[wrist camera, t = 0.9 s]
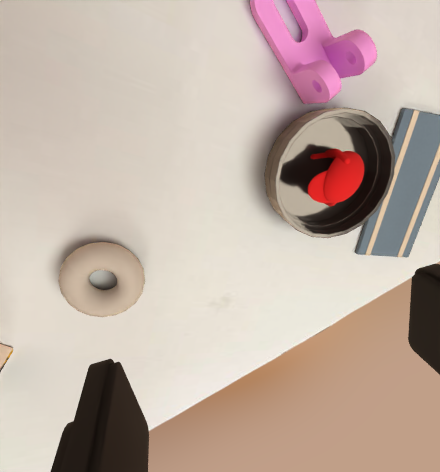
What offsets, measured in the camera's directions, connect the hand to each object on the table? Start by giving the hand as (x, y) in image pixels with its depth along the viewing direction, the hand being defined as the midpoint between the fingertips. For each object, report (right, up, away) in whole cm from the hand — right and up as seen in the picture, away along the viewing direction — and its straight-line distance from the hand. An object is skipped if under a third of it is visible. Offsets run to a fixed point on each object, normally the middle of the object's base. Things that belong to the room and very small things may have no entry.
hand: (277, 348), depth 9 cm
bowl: (+11, +12, +30) cm, 34 cm away
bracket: (+6, +25, +24) cm, 35 cm away
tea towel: (+24, +10, +33) cm, 42 cm away
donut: (-16, -1, +30) cm, 34 cm away
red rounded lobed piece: (+11, +12, +30) cm, 34 cm away
